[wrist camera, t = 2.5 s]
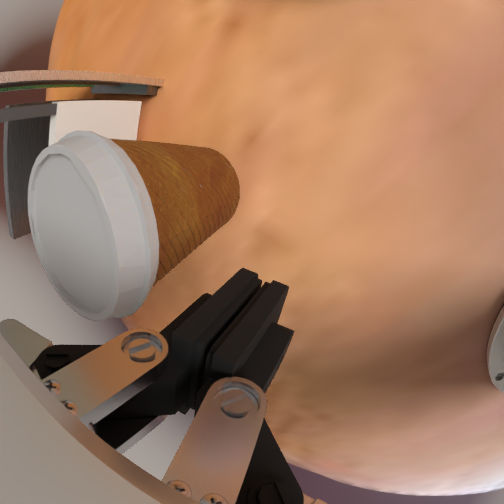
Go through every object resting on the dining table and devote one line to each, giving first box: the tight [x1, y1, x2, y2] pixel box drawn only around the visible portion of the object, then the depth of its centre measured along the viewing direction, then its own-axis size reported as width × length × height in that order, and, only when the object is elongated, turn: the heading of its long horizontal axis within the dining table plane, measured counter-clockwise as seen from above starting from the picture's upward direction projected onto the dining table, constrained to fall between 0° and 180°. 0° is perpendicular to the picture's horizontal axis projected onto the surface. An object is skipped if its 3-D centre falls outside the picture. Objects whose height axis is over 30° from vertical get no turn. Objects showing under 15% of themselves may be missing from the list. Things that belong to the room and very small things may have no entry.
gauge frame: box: [0, 70, 164, 239], centre depth 18 cm, size 10×15×15 cm, turn 167°
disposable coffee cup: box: [28, 130, 240, 321], centre depth 16 cm, size 10×10×12 cm
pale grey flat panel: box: [0, 100, 142, 146], centre depth 17 cm, size 1×13×14 cm, turn 167°
